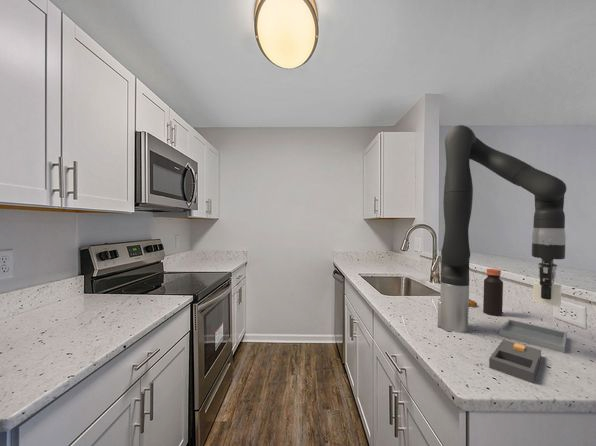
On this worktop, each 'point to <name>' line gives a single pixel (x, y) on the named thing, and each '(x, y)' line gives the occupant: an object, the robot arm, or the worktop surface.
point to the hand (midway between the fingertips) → (546, 297)
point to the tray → (534, 335)
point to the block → (555, 295)
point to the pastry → (472, 303)
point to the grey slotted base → (516, 360)
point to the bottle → (493, 293)
